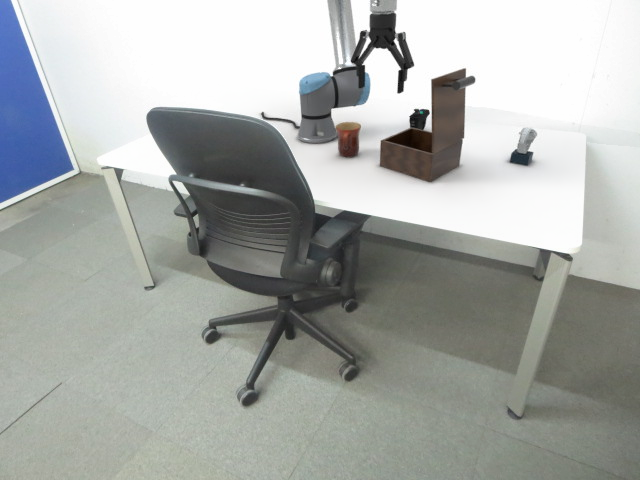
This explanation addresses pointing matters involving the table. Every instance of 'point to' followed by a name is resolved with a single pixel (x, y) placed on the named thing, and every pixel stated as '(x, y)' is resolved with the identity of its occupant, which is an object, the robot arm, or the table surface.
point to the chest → (418, 155)
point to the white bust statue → (524, 147)
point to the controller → (419, 118)
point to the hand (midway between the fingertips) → (380, 90)
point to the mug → (348, 138)
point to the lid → (448, 108)
